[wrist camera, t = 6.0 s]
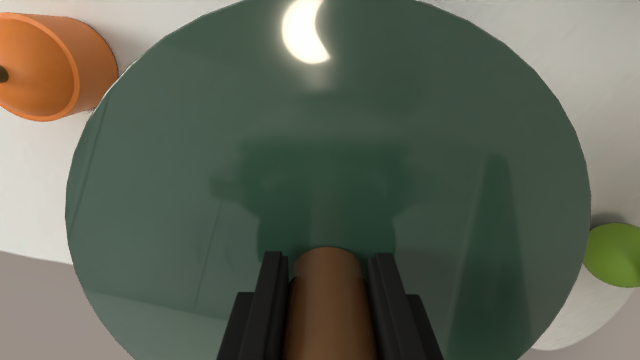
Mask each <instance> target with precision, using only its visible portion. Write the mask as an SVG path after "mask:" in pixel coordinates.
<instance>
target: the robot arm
mask: <svg viewBox="0 0 640 360" xmlns="http://www.w3.org/2000/svg"><path fill="white" fill-rule="evenodd" d="M366 284H367V289H368V295H369V300H370V306H371V311H372V317H373V322H374V328H375V333H376V338H377V344H378V349H379V355H380V360H444V358H443V355H442V353H441V350H440V347H439V345H438V342H437V339H436V337H435V334H434V332H433V329H432V326H431V324H430V321H429V318H428V316H427V313H426V310H425V308H424V305H423V302H422V300H421V298H420V296H419V295H418V294H406V293H405V290H404V287H403V283H402V280H401V277H400V274H399V271H398V268H397V265H396V262H395V259H394V256H393V254H392V253H375V255H374V257H369V259H368V269H367V280H366ZM288 287H289V266H288V256H282V251H265V253H264V257H263V261H262V264H261V268H260V272H259V276H258V280H257V284H256V288H255V292H238V293H237V296H236V299H235V302H234V305H233V308H232V311H231V314H230V317H229V321H228V324H227V327H226V330H225V333H224V336H223V339H222V343H221V346H220V349H219V352H218V355H217V358H216V360H280V352H281V344H282V336H283V328H284V320H285V311H286V303H287V295H288Z"/></svg>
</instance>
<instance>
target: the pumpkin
mask: <svg viewBox="0 0 640 360" xmlns="http://www.w3.org/2000/svg"><path fill="white" fill-rule="evenodd" d="M117 79H118V71H117V65H116V61H115V58H114V56H113V53H112V52H111V50H110V48H109V46H108V45H107V43H106V42H105V41H104V40H103V38H102V37H101V36H100V35H99V34H98V33H97V32H96V31H94V30H93V29H92V28H91V27H89V26H87V25H86V24H84V23H82V22H80V21H78V20H75V19H72V18H68V17H60V16H47V15H35V14H22V13H9V12H6V13H0V106H1V107H3V108H4V109H6V110H7V111H9V112H11V113H13V114H15V115H17V116H19V117H22V118H25V119H28V120H33V121H41V122H44V121H53V120H57V119H60V118H63V117H66V116H69V115H72V114H75V113H79V112H82V111H85V110H88V109H91V108H94V107H97V105H98V104H99V102H100V101H101V99H102V97H103V96H104V94H105V93H106V91H107V90H108V89H109V88H110V87H111V85H112V84H113V83H114V82H115V81H116V80H117Z"/></svg>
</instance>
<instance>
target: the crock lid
mask: <svg viewBox="0 0 640 360" xmlns="http://www.w3.org/2000/svg"><path fill="white" fill-rule="evenodd" d="M65 221H66V230H67V239H68V246H69V250H70V254H71V257H72V261H73V265H74V268H75V272H76V275H77V277H78V279H79V282H80V284H81V286H82V288H83V291H84V293H85V295H86V297H87V299H88V301H89V303H90V304H91V306H92V307H93V309H94V311H95V313H96V314H97V316H98V317H99V319H100V321H101V322H102V323H103V325H104V326H105V327H106V328H107V330H108V331H109V332H110V333H111V335H112V336H113V337H114V338H115V340H116V341H117V342H118V343H119V344H120V345H121V346H122V347H123V348H124V349H125V350H126V351H127V352H128V353H129V354H130V355H131V356H132V357H133V358H134V359H135V360H216V358H217V355H218V352H219V349H220V346H221V343H222V339H223V336H224V333H225V330H226V327H227V324H228V321H229V317H230V314H231V311H232V308H233V305H234V302H235V299H236V296H237V293H238V292H255V288H256V284H257V280H258V276H259V272H260V268H261V264H262V261H263V257H264V253H265V251H282V256H288V266H289V287H288V295H287V303H286V311H285V320H284V328H283V336H282V344H281V352H280V360H380V355H379V349H378V344H377V338H376V333H375V328H374V322H373V317H372V311H371V306H370V300H369V295H368V289H367V284H366V280H367V269H368V259H369V257H374V255H375V253H392V254H393V256H394V259H395V262H396V265H397V268H398V271H399V274H400V277H401V280H402V283H403V287H404V290H405V293H406V294H418V295H419V296H420V298H421V300H422V302H423V305H424V308H425V310H426V313H427V316H428V318H429V321H430V324H431V326H432V329H433V332H434V334H435V337H436V339H437V342H438V345H439V347H440V350H441V353H442V355H443V358H444V360H518V359H519V358H520V357H521V356H522V355H523V354H524V353H525V352H526V351H527V350H528V349H530V348H531V347H532V346H533V344H534V343H535V342H536V341H537V340H538V339H539V338H540V336H541V335H542V334H543V333H544V332H545V331H546V330H547V328H548V327H549V326H550V324H551V323H552V321H553V320H554V319H555V317H556V316H557V314H558V313H559V311H560V310H561V308H562V307H563V305H564V304H565V302H566V300H567V298H568V296H569V294H570V292H571V290H572V288H573V286H574V284H575V282H576V280H577V277H578V274H579V271H580V268H581V265H582V262H583V259H584V256H585V253H586V247H587V241H588V236H589V230H590V224H591V191H590V185H589V178H588V172H587V165H586V161H585V158H584V155H583V152H582V149H581V146H580V143H579V140H578V137H577V134H576V131H575V129H574V128H573V126H572V124H571V122H570V120H569V119H568V117H567V115H566V113H565V111H564V109H563V108H562V106H561V104H560V102H559V100H558V99H557V98H556V96H555V95H554V94H553V93H552V91H551V90H550V89H549V88H548V86H547V85H546V84H545V82H544V81H543V80H542V79H541V77H540V76H539V75H538V74H537V72H536V71H535V70H534V69H533V68H532V67H531V66H529V65H528V64H527V63H526V62H525V61H524V60H523V59H522V58H520V57H519V56H518V55H517V54H516V53H515V52H514V51H513V50H511V49H510V48H509V47H508V46H507V45H506V44H505V43H503V42H502V41H500V40H498V39H497V38H495V37H494V36H492V35H490V34H489V33H487V32H486V31H484V30H483V29H481V28H479V27H478V26H476V25H475V24H473V23H471V22H470V21H468V20H466V19H463V18H461V17H459V16H456V15H454V14H452V13H449V12H447V11H444V10H442V9H440V8H437V7H435V6H433V5H430V4H428V3H424V2H420V1H416V0H242V1H240V2H237V3H234V4H232V5H229V6H226V7H224V8H221V9H218V10H216V11H213V12H210V13H208V14H205V15H202V16H200V17H199V18H197V19H195V20H193V21H192V22H190V23H188V24H186V25H184V26H183V27H181V28H179V29H177V30H176V31H174V32H172V33H170V34H169V35H167V36H165V37H164V38H162V39H161V40H160V41H159V42H157V43H156V44H155V45H153V46H152V47H151V48H150V49H148V50H147V51H146V52H145V53H143V54H142V55H141V56H140V57H138V58H137V59H136V60H135V61H133V62H132V63H131V64H130V66H129V67H128V68H127V69H126V70H125V71H124V72H123V73H122V74H121V76H120V77H119V78H118V79H117V80H116V81H115V82H114V83H113V84H112V85H111V87H110V88H109V89H108V90H107V91H106V93H105V94H104V96H103V97H102V99H101V101H100V102H99V104H98V105H97V107H96V108H95V110H94V112H93V113H92V115H91V116H90V118H89V119H88V121H87V123H86V125H85V128H84V130H83V133H82V135H81V137H80V140H79V142H78V145H77V147H76V149H75V152H74V155H73V159H72V164H71V168H70V172H69V177H68V181H67V187H66V206H65Z"/></svg>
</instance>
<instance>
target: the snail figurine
mask: <svg viewBox="0 0 640 360" xmlns="http://www.w3.org/2000/svg"><path fill="white" fill-rule="evenodd" d="M583 264H584V265H585V267H586V268H587V269H588V271H589V272H590V273H591V274H592V275H594V276H595V277H596V278H598V279H599V280H601V281H603V282H605V283H608V284H610V285H613V286H618V287H625V288H633V287H640V228H639V227H637V226H634V225H630V224H625V223H608V224H603V225H600V226H598V227H595V228H594V229H592V230H591V231H589V236H588V241H587V247H586V253H585V256H584V259H583Z"/></svg>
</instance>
